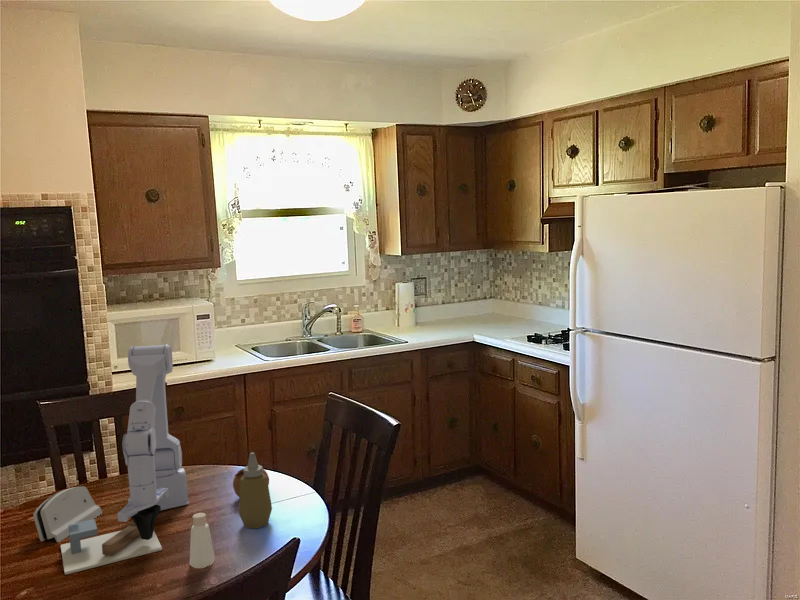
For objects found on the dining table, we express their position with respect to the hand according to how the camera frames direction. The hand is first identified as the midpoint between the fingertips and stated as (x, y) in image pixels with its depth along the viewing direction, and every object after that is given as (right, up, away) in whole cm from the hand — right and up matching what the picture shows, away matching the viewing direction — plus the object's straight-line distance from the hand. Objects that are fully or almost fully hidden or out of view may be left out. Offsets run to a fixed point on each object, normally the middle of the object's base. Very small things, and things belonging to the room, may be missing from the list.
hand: (146, 538), depth 155 cm
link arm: (-5, -1, +1) cm, 5 cm away
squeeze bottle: (+23, 0, +10) cm, 25 cm away
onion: (+19, +1, +26) cm, 32 cm away
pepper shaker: (+15, -3, -8) cm, 17 cm away
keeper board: (-8, -2, 0) cm, 9 cm away
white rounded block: (-24, -2, +12) cm, 27 cm away
